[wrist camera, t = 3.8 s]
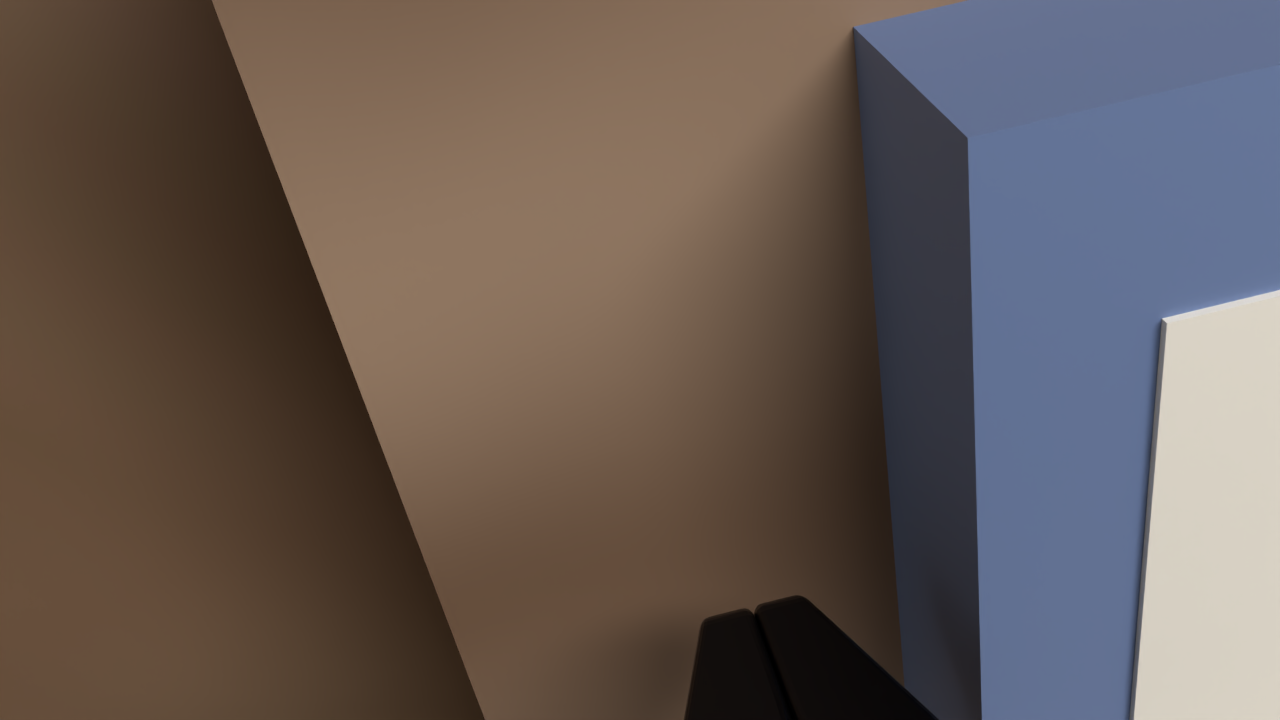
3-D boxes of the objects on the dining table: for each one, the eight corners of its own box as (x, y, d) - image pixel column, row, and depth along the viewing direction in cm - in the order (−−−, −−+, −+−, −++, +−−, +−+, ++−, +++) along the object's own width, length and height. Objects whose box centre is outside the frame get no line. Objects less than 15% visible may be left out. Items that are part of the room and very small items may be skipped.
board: (1587, 503, 18) (1850, 705, 15) (567, 760, 18) (604, 1030, 14) (2009, -690, 10) (2753, -825, 7) (214, -303, 10) (117, -252, 7)
